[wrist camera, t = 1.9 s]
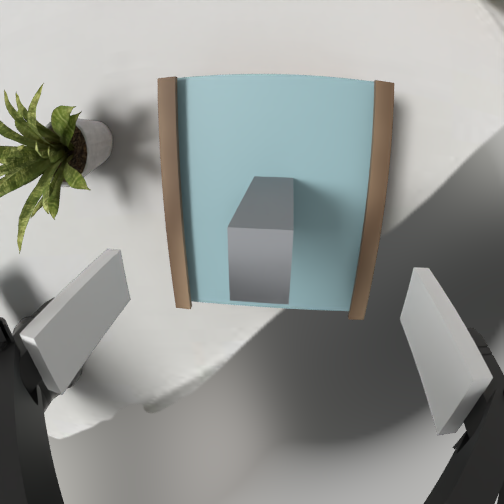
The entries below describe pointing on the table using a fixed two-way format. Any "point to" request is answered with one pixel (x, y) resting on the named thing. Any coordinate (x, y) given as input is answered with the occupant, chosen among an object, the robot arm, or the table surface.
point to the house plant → (50, 155)
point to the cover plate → (278, 148)
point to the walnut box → (372, 209)
